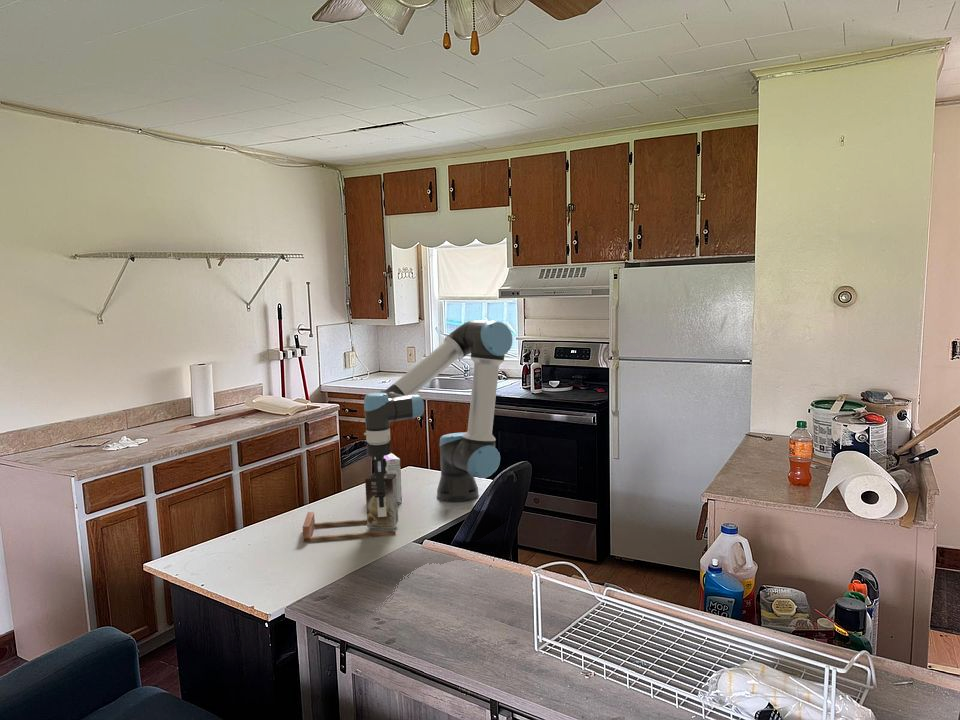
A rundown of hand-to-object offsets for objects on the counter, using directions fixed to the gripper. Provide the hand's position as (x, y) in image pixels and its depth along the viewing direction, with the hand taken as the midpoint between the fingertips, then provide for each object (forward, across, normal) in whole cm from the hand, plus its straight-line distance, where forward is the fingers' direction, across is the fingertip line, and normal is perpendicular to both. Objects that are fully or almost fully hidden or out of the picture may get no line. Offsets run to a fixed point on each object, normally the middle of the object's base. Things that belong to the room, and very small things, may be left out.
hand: (382, 512), depth 215 cm
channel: (+5, 0, -10) cm, 11 cm away
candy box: (+6, -30, +2) cm, 30 cm away
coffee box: (+4, 0, 0) cm, 4 cm away
